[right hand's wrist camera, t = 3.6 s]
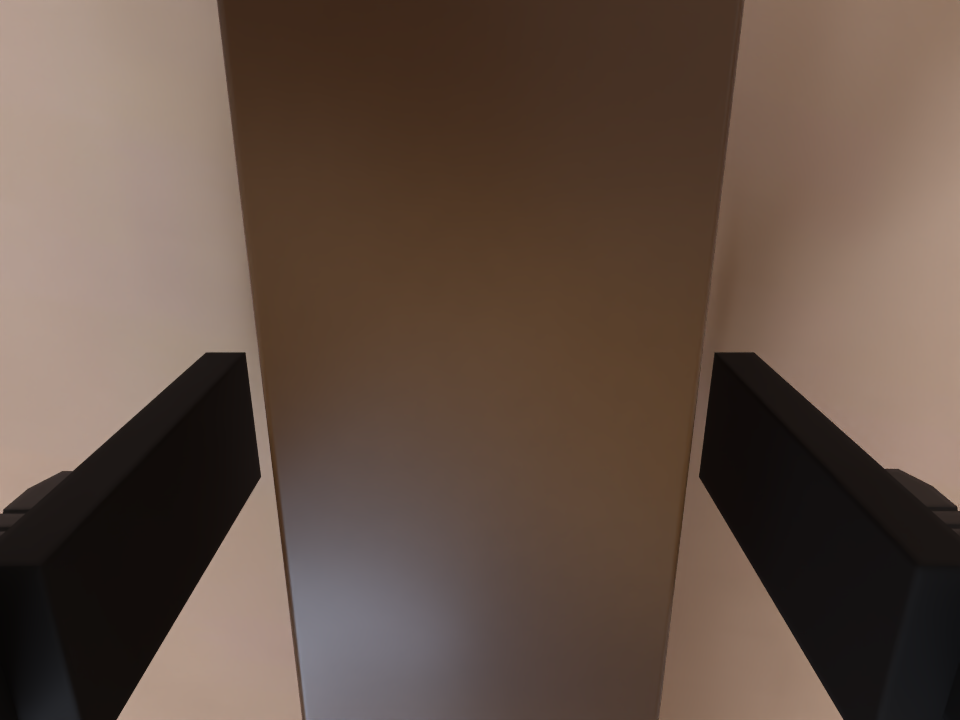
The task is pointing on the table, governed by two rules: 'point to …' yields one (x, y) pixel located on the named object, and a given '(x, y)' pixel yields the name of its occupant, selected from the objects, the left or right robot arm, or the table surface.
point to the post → (480, 336)
